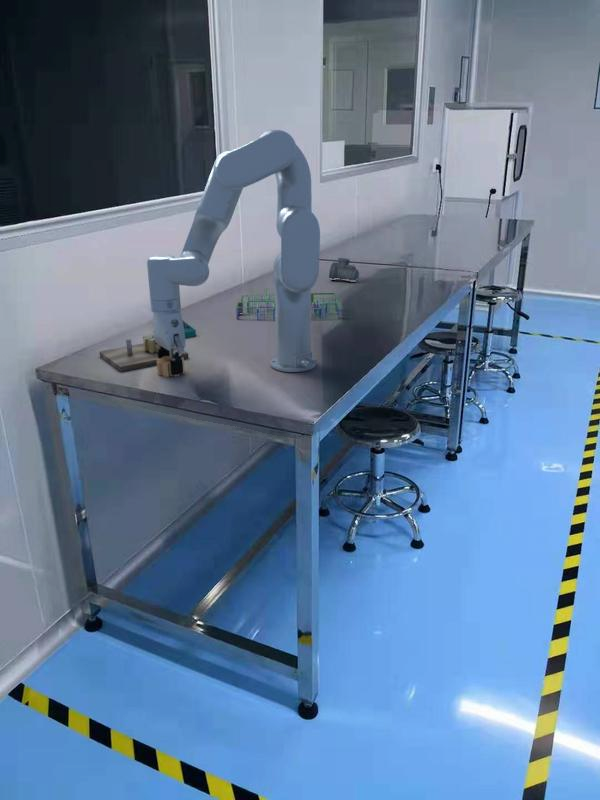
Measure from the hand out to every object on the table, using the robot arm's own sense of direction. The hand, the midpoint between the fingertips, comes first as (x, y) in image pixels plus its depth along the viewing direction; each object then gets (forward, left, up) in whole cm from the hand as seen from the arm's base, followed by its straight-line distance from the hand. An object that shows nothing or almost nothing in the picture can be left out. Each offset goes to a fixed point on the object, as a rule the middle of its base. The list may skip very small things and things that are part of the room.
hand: (170, 369), depth 172 cm
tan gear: (0, 0, -1) cm, 1 cm away
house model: (+38, -63, -1) cm, 74 cm away
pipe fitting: (+63, -110, -1) cm, 127 cm away
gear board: (+16, +1, -1) cm, 16 cm away
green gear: (+16, -3, +1) cm, 16 cm away
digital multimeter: (+34, -18, -1) cm, 39 cm away
